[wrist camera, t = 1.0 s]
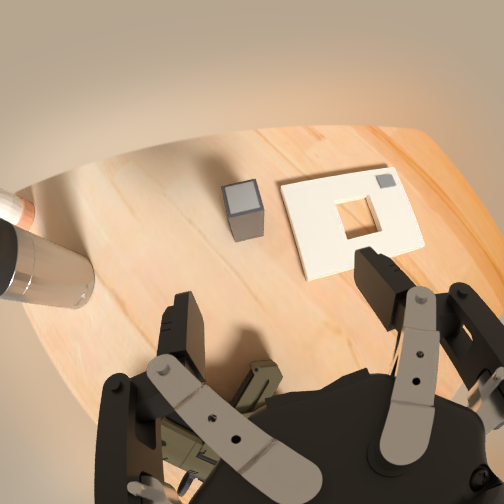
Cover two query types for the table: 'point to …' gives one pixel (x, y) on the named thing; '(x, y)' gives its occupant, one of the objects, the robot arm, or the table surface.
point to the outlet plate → (330, 226)
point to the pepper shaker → (16, 210)
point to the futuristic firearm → (192, 446)
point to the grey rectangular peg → (244, 209)
